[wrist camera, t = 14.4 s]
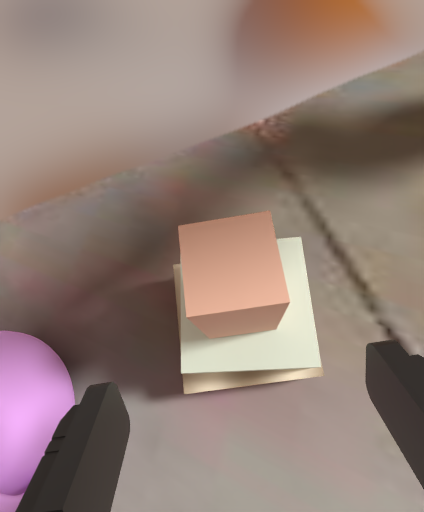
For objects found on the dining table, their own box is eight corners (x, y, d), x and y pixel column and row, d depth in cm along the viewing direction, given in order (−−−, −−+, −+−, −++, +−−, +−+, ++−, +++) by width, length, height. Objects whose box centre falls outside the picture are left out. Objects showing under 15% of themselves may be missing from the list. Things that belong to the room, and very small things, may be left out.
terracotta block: (263, 266, 25) (269, 210, 17) (276, 329, 23) (290, 302, 15) (202, 275, 25) (178, 225, 17) (209, 338, 23) (186, 317, 15)
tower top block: (293, 258, 30) (300, 236, 25) (309, 368, 26) (321, 367, 22) (191, 266, 31) (180, 247, 26) (193, 373, 27) (181, 373, 23)
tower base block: (287, 262, 35) (292, 245, 31) (313, 375, 31) (324, 375, 26) (183, 278, 36) (173, 264, 31) (194, 391, 32) (184, 394, 27)
